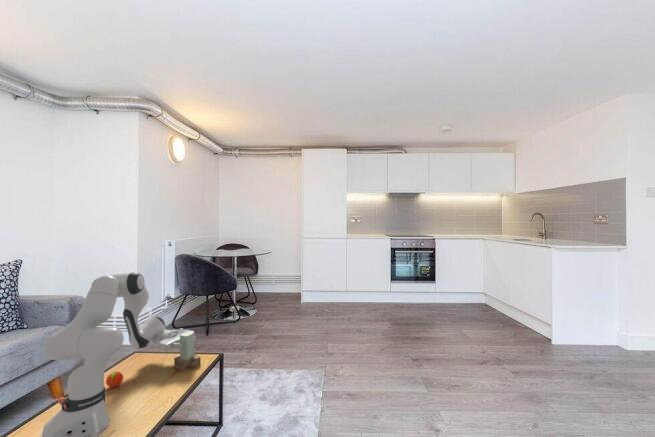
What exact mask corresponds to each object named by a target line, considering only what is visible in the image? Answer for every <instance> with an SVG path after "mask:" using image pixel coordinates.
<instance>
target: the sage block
mask: <svg viewBox="0 0 655 437" xmlns="http://www.w3.org/2000/svg"><path fill="white" fill-rule="evenodd" d="M194 333H195V332H194ZM194 333H190V332H186V333H184V334H181V335H180V343H182V347H179V356H180V359H184V360H188V359H190V358H192V357H194V353H195V340H194Z"/></svg>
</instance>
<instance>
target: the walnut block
mask: <svg viewBox="0 0 655 437" xmlns="http://www.w3.org/2000/svg"><path fill="white" fill-rule="evenodd" d="M173 359H174V360H173V364H174V367H175V368H176V369H177V370H179V371H181V373H184V372H186V371H188V370H191V369H194V368H196V366H197V367H198V366H201V363H202V362H201V356H200V355H198V354H196V353H195V352H194V357H192V358H190V359H188V360H184V359H180V355H179V356H177V357H174V358H173Z"/></svg>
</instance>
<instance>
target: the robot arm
mask: <svg viewBox="0 0 655 437" xmlns="http://www.w3.org/2000/svg"><path fill="white" fill-rule="evenodd" d="M145 284H146V283H145V278H144V275H142V274H141V273H139V272H134V271H133V272H126V273H115V274H110V275H102V276H99V277H98V278H96V279H94V281H93V282H92V284H91V287H90V288H89V290H88V292H87V295H86V297H85V299H84V301H83V303H82V305H81V308H80V310H79V312H78V313H77V315H76V316H75V317H74V318H73V319H72V320H71V322H69V323H67V325H66V326H64V327H63V328H62V329H59V330H57V331H56V332H54V333H52V334H51V335H50V336H49V337H48V338H47V339H46V341H45V343H44V346H43V353H44V356H45V357H46V358H47V359H48V360H51V361H52V360H54V361H70V360H81V359H84V364H83V365H80V366H79V367H78V368H76V369H74V370H73V371H72V372H71V373H70V375H69V377H68V379H67V386H68V387H67V393H68V394H67V395H68V396H66V397H64V396H63V397H62V396H61V397H60V398H59V399H58V400H57V403H58V404H59V405H61V409H60V410H58V411H57V413H55V414H54V416H52V417H51V418H50V419H49V420H48V421H47V422H45V425H44V427H43V429H42V433H41V434H40V435H39V436H38V437H98V436H99V434H100V433H101V432H102V431H103V430H105V428H107V427H108V426H109V424H110V422H111V421H110V417H109V414H108V412H107V407H106V398H107V391H106V386H105V381H104V380H105V369H106V366H107V363H108V362H109V361H110V359H111V358H112V356H113V355H115V354H116V353H117V352H118V351H119V350H120V349H121V348H122V346H123V344H124V333H123V331H122V330H121V329H120V328H118V327H113V326H100V325H103V324H104V323H106V322H107V321H108V320H109V319H110V318H111V317H112V314H113V311H114V309H115V308H114V307H115V306H116V302H117V298H122V299H123V302H124V304H123V305H124V307H123V308H124V309H123V312H122V316H123V320H124V324H125V327H126V330H127V334H128V340H129V344H130V345H131V347H133V348H134V349H138V350H139V349H144V348H146V347H147V346H148V345H149V344H151V345H154V346H155V347H156V348H158V349H159V350H160V351H161V350H162V351H167V352H168V351H170V350H172V349H174V348H180V347H182V343H180V335H181V334H184V333H186V332H190V333H194V341H196V338H197V337H196V336H195V331H194V330H190V329H184V328H175V329H166V328H167V327H166V323H165V320H164V319H163V318H162V317H160V316H158V315H151V316H149V317H148V318H147V319H146V320H144V321H143V323H141V324H140V325H139V322H138V320H139V316H140V315H141V312H142V311H143V310H144V308H145V307H146V305H147V304H148V302H149V297H150V295H149V294H150V293H149V291H148V289H147V287H146V285H145ZM99 326H100V327H99Z"/></svg>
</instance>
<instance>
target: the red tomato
mask: <svg viewBox="0 0 655 437" xmlns="http://www.w3.org/2000/svg"><path fill="white" fill-rule="evenodd" d="M123 380H124V375H123V373H121V372H120V371H113V372H111V373H110V374H109V375H108V376H107V377H106V380H105V383H106V386H107V387H109V388H116V387H118V386H120V385H121V384H122V382H123Z"/></svg>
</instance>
